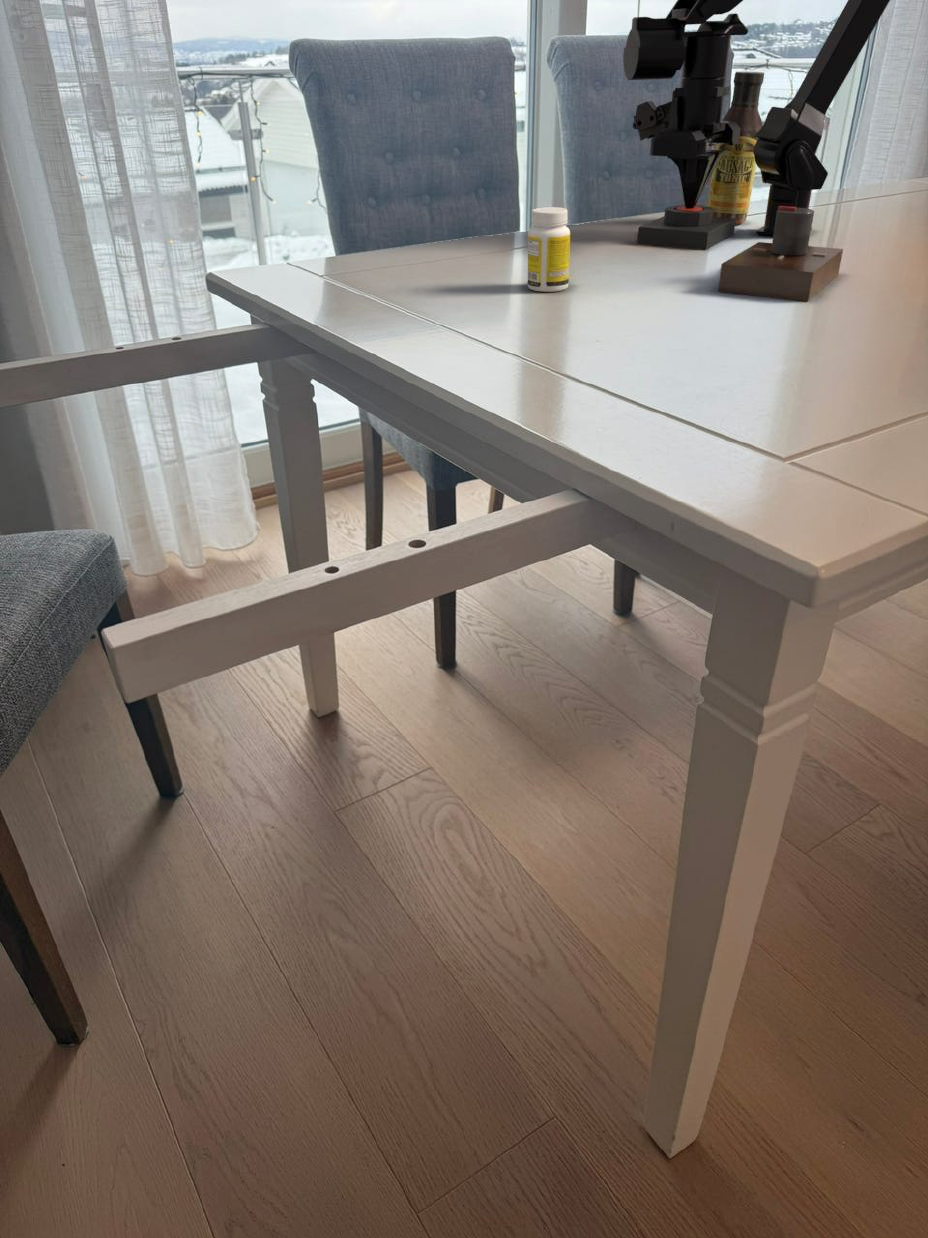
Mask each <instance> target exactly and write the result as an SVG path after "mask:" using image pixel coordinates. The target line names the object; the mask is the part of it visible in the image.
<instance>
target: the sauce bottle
mask: <svg viewBox="0 0 928 1238" xmlns="http://www.w3.org/2000/svg"><path fill="white" fill-rule="evenodd" d="M764 79H765V72H763V71H735V73H734V78H733V93H732V100H731V103H730V107H729V109H728V110H727V112H726V114H725V115H724V117H723V118H722V119H721V121H735V122H736V123H737V125H738V126H739V127H740V137H739V144H735V145H729V143H716V144H715V150H724V151H725V152H724V155H722V156H721V158H720V160H719V162H718V164H717V166H716V167H715V169H714V171H713V173H712V175H711V177H710V183H709V191H708V196H707V197H708V198H707V203H706V206H707V207H711V208H713V209H714V213H713V217H722V218H736V222H735V226H737V225H742V224H743V223H745V222H746V220H747V216H748V213H749V209H750V203H751V199H752V198H751V197H752V193H753V192H752V191H753V186H754V182H755V175H756V170H757V164H756V162H755V158H754V154H753V151H754V146H755V144H756V141H757V139H758V138H757V137H755V134H756V133H757V132H758V131H759V130H760V129H761V128H762V126H763V121H762V118H761V115H760V112H759V109H758V108H759V105H760V103H759V100H760V94H761V89H762V85H763V83H764Z"/></svg>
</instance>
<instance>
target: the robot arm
mask: <svg viewBox="0 0 928 1238" xmlns="http://www.w3.org/2000/svg"><path fill="white" fill-rule="evenodd" d="M890 1H891V0H847V2H846V4H845V5H844V7H843V8H842V11H841V13H840V14H839V16H838V18H837V19H836V21H835V23H834V25H833V27H832V29H831V30H830V32H829V34H828V36H827V38H826V39H825V41H824V43H823V45H822V46H821V48H820V50H819V52H818V54H817V56H816V57H815V59H814V61H813V63H812V65H811V66H810V68H809V70H808V72H807V73H806V76H805V77H804V79H803V81H802V82H801V84H800V86H799V88H798V89H797V91H796V93H795V95H794V97H793V98H792V99H791V101H790V102H789V103H788V104H786V105H785V106H784V107H780V106H771V107H770V109H769V110H768V113H767V115H766V117H765V120H764V122H763V123H762V128H761V129H760V130H759V131H758V132H757V133H756V134H755V137H757V138H758V139H757V141H756V144H755V146H754V151H753V154H754V158H755V162H756V164H757V165H756V167H757V168H758V169H759V171H760V176H761V181H762V183H763V184H768V185H769V190H768V191H769V192H768V198H767V204H766V209H765V218H764V224H763V226H762V227H759V228H758V229H756V230H755V235H763V236H773V235H774V228H775V222H776V215H777V210H778V207H779V206H787V207H796V208H807V209H810V204H811V198H812V191H815V190H821V189H822V188H823V186H824V184H825V182H826V180H827V178H828V177H829V176H828V175H829V172H828V170H827V169H826V168H825V166H824V165H823V164H822V161H820V159H819V158H818V156H817V155H816V153H817V150H818V148H819V146H820V143H821V142H822V137H823V131H824V125H825V118H826V114H827V111H828V110H829V108H830V106H831V104H832V103H833V101H834V99H835V97H836V96H837V94H838V92H839V90H840V89H841V87H842V85H843V84H844V82H845V80H846V78H847V76H848V75H849V73H850V72H851V70H852V68H853V66H854V64H855V62H856V60H857V59H858V57H859V56H860V54H861V52H862V50H863V49H864V47H865V45H866V43H867V42H868V41H869V38H870V37H871V35H872V33H873V31H874V30H875V28H876V26H877V24H878V22H879V20H880V19H881V17H882V16H883V14H884V12H885V10H886V9H887V7H888V5H889V3H890ZM742 2H744V0H676V2H675V3H674V5H673V6H672V8H671V9H670V11H669V12H668V13H667V15H666V17H663V18H661V17H660V18H654V17H649V16H634V17H633V18H631V28H630V31H629V32H628V35H627V38H626V43H625V47H624V48H623V57H622V59H623V60H622V62H623V63H622V65H623V73H624V76H625V78H626V79H627V80H628V81H646V80H648V81H649V80H671V79H673V78H674V77H675V75H676V73H677V71H681V74H680V75H681V77H680V86H679V87H675V88H674V89H673V91H672V94H671V101H668V102H666V103H663V104H660V105H658V106H656V104H655V103H654V102H653V101H652V100H649V101H644V102H642V103H640V104H637V105H636V111H635V115H633V123H632V128H633V130H637V133H638V137H639V141H644V140H646V139H648V140H650V150H649V156H654V157H666V158H668V159H670V160H671V161H672V163H674V165H676V167H677V169H678V173H679V177H680V183H681V190H682V196H683V201H684V205H685V207H686V208H694V207H695V206H696V205H698V202H699V200H700V198H701V196H702V194H703V192H704V191H705V188H706V186H707V184H708V183H709V181H710V179H711V176H712V173H713V171H714V169H715V167H716V166H717V164H718V162H719V160H720V158H721V156H722V155H724V152H725V151H724V150H716V144H717V143H729V145H735V144H739V137H740V127H739V126H738V125H737V123H736V122H735V121H722V116H723V107H724V99H725V96H730V87H731V86H730V85H726V83H727V82H726V81H727V73H728V72H727V71H728V66H729V65H728V64H729V57H730V47H731V40H732V39H731V38H732V36H746V35H747V34H748V33H749V29H748V27H747V26H746V25H745V24H744V22H742V20H741V18H740V17H739V14H738V13H729V12H731V11H732V10H734V9H735V8H736V7H738V6H739V5H740V4H741V3H742ZM727 13H729V14H727ZM723 14H727V16H726V17H725V18H724V19H723V20H710V18H712V17H713V16H716V15H723ZM690 25H699V27H698V28H697V30H696V31H685V30H686V29H685V28H686V26H690ZM812 230H813V227H812V228H811V232H812Z"/></svg>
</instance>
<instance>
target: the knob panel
mask: <svg viewBox="0 0 928 1238" xmlns="http://www.w3.org/2000/svg"><path fill="white" fill-rule="evenodd" d="M771 248H772V242H764V241H758V242H755V243H754V244H753V245H751V246H749V247H747V248H746V249H744V250H743V251H741V252H739V253H737V254H736V255H734V256H732V257H731V258H729V259H727V260H726V261H724V262H722V263H721V264H720V273H719V281H718V290H717V291H718V292H719V293H727V294H737V295H738V294H739V295H746V296H754V297H755V296H756V297H765V298H773V299H774V298H775V299H782V300H783V299H784V300H791V301H800V302H809V301H810V300H811V299H812V298H814V297H815V296H816V295H817V294H818V293H820V291H822V290H824V288H826V287H827V285H829V284H830V283H831V282H833V280H834V279H836V278H837V277H838V276H839V273H840V268H841V262H842V257H843V254H844V253H843V252H844V248H838V247H837V248H836V247H827V246H825V247H824V246H814V245H813V246H811V245H808V250H807V254H804V255H799V256H784V255H777V254H774V253H772V252H771Z"/></svg>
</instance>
